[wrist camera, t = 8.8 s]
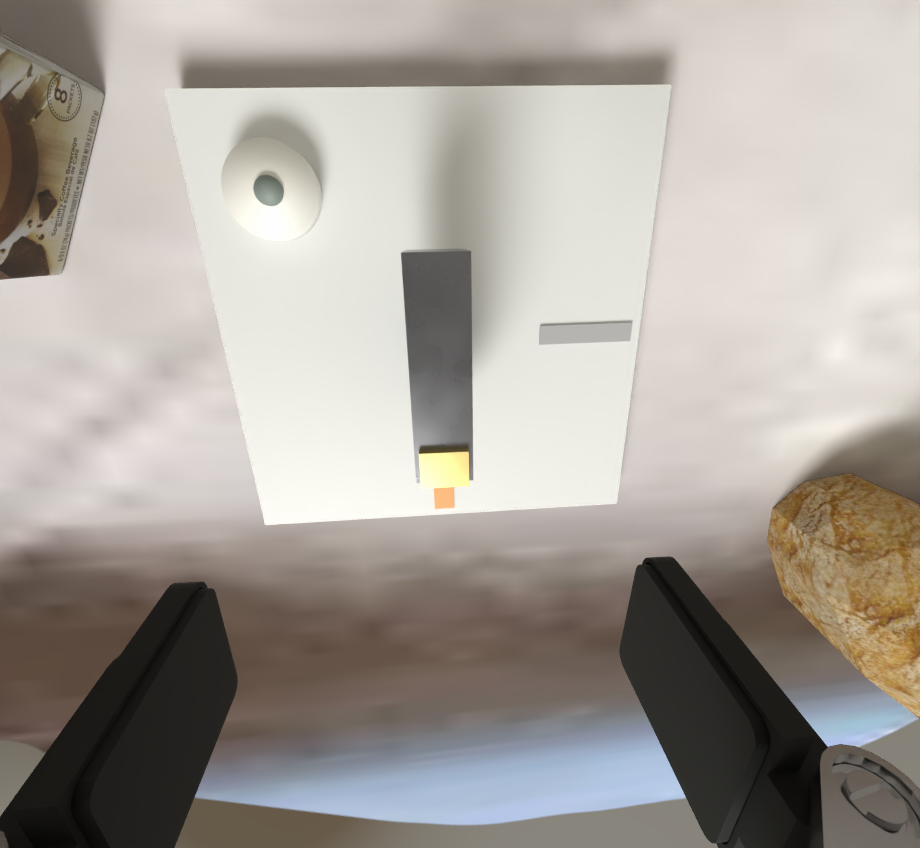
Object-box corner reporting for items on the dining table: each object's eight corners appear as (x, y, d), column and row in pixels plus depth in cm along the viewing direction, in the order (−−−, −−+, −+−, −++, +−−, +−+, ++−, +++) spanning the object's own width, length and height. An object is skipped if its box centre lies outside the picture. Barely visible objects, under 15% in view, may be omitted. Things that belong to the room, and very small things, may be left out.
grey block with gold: (408, 248, 21) (400, 253, 15) (457, 247, 22) (471, 251, 15) (419, 421, 25) (416, 489, 18) (461, 419, 25) (474, 486, 18)
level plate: (273, 511, 29) (257, 539, 26) (181, 98, 20) (143, 77, 17) (607, 491, 30) (625, 516, 27) (655, 94, 21) (688, 74, 19)
